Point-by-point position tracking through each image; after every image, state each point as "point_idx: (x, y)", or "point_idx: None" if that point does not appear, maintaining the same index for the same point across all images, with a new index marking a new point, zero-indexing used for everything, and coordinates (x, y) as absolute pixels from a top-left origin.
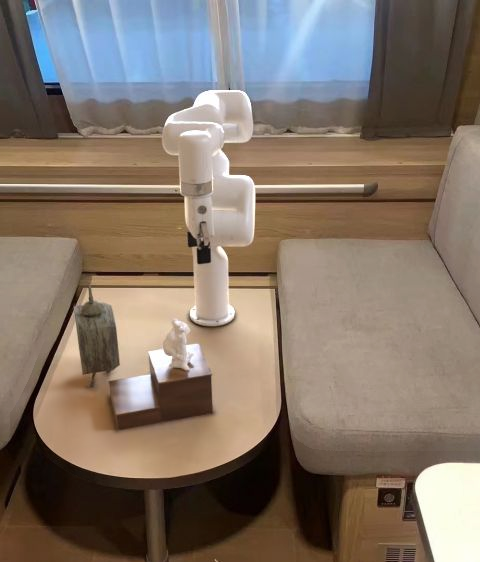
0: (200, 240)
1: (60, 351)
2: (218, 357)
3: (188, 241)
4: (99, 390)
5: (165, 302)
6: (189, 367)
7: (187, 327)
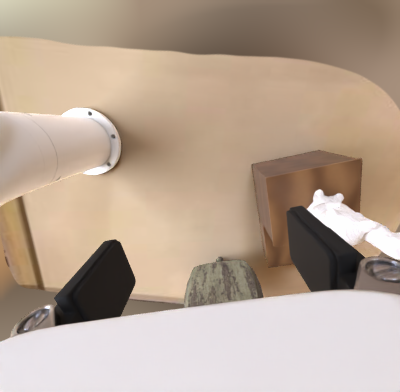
0: (106, 256)
1: (177, 300)
2: (198, 138)
3: (122, 303)
4: (250, 264)
5: (63, 204)
6: (332, 192)
7: (377, 223)
